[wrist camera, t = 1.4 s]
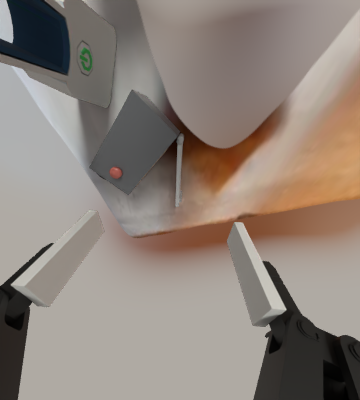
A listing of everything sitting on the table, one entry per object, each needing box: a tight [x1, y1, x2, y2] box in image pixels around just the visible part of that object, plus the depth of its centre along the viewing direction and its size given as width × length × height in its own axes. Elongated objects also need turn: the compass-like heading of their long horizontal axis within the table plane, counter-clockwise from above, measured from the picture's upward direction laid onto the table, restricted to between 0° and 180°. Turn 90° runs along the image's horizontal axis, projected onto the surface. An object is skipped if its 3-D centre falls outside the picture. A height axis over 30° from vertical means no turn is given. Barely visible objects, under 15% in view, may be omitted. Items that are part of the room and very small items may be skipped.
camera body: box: [89, 90, 180, 195], centre depth 31 cm, size 20×10×10 cm, turn 137°
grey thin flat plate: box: [175, 133, 184, 207], centre depth 34 cm, size 17×2×7 cm, turn 177°
